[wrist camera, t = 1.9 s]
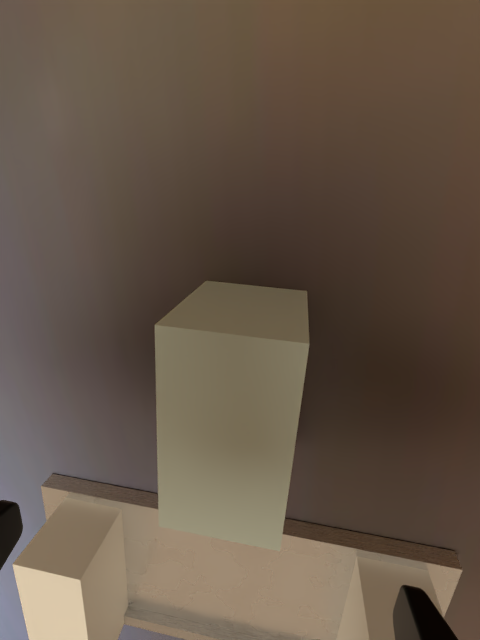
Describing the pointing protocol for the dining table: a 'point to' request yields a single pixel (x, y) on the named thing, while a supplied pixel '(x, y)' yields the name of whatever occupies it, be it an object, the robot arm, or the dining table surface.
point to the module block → (229, 410)
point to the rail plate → (243, 572)
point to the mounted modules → (111, 585)
